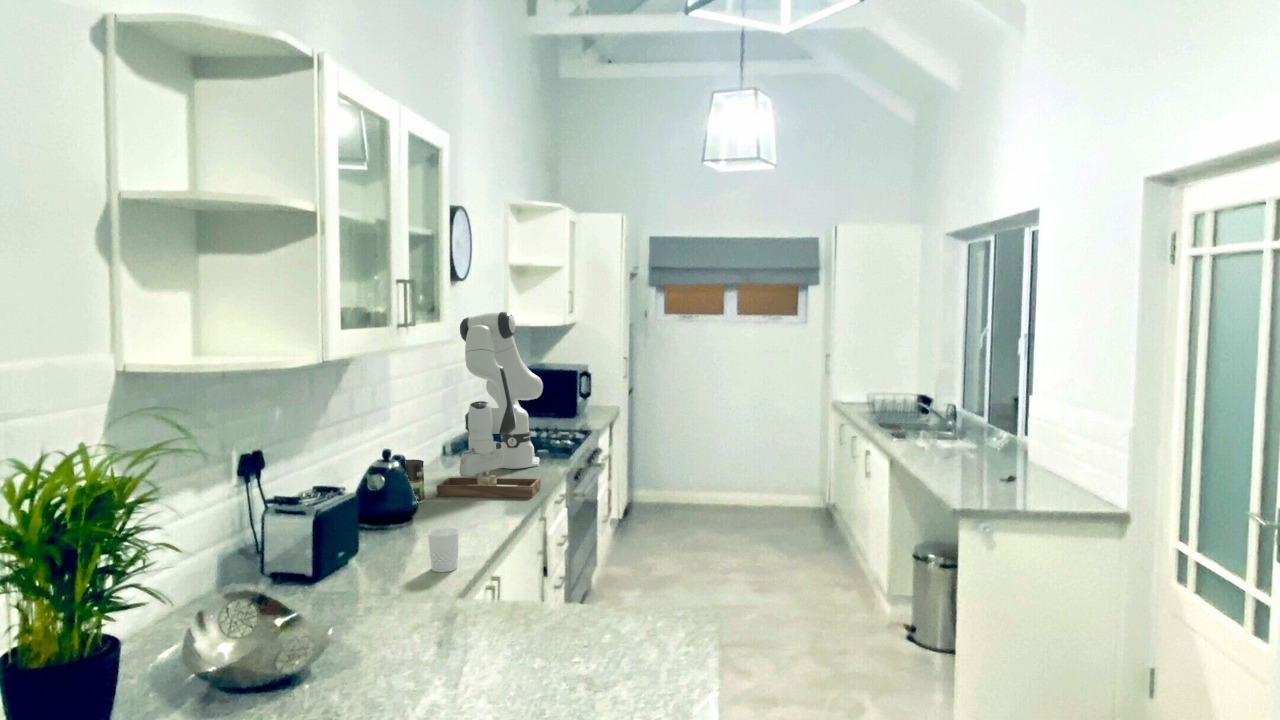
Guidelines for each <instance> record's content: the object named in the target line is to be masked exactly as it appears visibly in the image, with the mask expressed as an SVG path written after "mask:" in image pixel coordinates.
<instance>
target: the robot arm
mask: <svg viewBox="0 0 1280 720" xmlns="http://www.w3.org/2000/svg"><path fill="white" fill-rule="evenodd" d="M459 332H460V333H459V334H460V337H461V338H462V340H463V341H464V342H465V346H464V348H465V349H464V354H465V355H464V359H465V365H466V366H465V367H466V369H467V370H468V372H470V373H471V374H472V375H474V376H475V377H478V378H480V379H483V380H486V384H485V386H486V387H485V388H486V392H487V394H488V395H489V396H490V397H491V398H492V399H493V400H494V402H495V403H496V404H497V407H492V405H491V403H489V402H488V401H485V400H484V401H482V400H480V401H475V402H474V401H473V402H471V403H470V404H469V406H468V407H469V408H468V412H467V413H466V414H465V415H464V418H465V419H464V420H465V430H466V431H467V432H468V434H469V435H468V449H467V450H466V449H465V450H464V451H463V452H462V453H461V456H460V460H459V475H460V476H461V477H464V478H470V477H471V476H474V478H476V479H477V480H478V485H479V477H481V476H484V475H490V474H489V473H490V471H493V470H497V469H500V468H501V469H511V470H513V469H515V470H516V469H525V468H531V467H532V468H533V467H539V465H540V457H539V456H536V454H535V447H534V445H533V443H532V441H531V430H530V429H529V428H530V427H529V425H530V423H529V413H528V412H527V410H526V409H524V408H523V407H521V404H520V403H519V401H520V400H521V401H530V400H535V399H536V400H537V399H538V398H539V397H541V396H542V393H543V389H544V383H543V381H542V378H541V377H539V376H538V375H536V374H535V373H533V372H532V371H531V370H530V369H529V368H528V366H527V365H526V364H525V363H524V361H523V360H522V358H521V356H520V353H519V351H518V348H517V344H516V340H515V338H514V334H515V332H516V320H515V317H514V316H513V315H512V314H511V313H510V312H506V311H500V312H488V313H487V312H486V313H484V314H480V315H479V314H478V315H475V316H468V317H465V318H464V319H462V321H461V322H460V324H459ZM493 434H494V435H495V434H499V435H500V439H501V442H499V441H496V440H494V436H493Z"/></svg>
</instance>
